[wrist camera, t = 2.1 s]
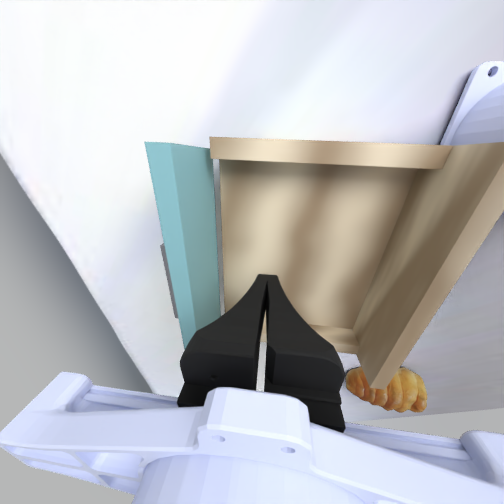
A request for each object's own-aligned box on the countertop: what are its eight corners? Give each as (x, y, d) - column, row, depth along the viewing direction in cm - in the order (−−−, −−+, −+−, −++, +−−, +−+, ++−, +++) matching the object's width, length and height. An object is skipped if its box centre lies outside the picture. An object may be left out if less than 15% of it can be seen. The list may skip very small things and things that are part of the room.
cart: (414, 150, 15) (549, 142, 7) (350, 316, 23) (384, 389, 16) (228, 143, 16) (189, 130, 9) (231, 302, 24) (211, 364, 17)
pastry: (339, 385, 30) (347, 414, 26) (347, 358, 27) (358, 386, 23) (403, 391, 29) (420, 423, 25) (419, 364, 26) (441, 395, 22)
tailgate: (212, 149, 13) (170, 143, 8) (220, 317, 21) (201, 370, 16) (188, 148, 14) (132, 141, 8) (205, 315, 21) (181, 367, 16)
